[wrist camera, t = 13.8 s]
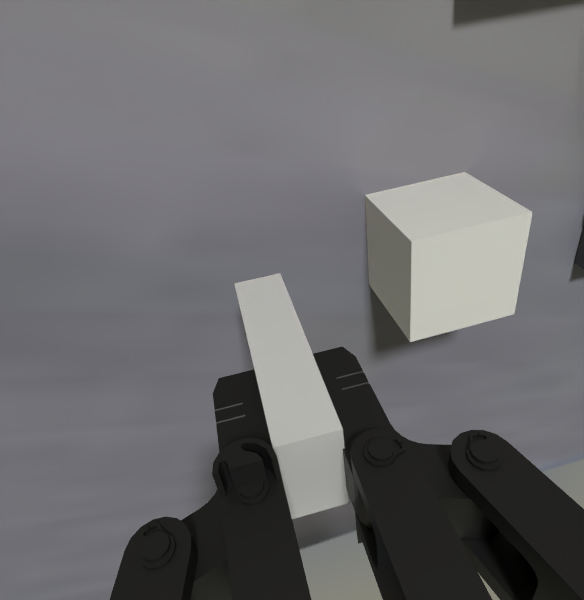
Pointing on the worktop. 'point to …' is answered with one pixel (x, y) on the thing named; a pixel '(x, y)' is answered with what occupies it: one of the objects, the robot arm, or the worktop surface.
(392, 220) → the white cube
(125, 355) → the worktop surface
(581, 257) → the phone
